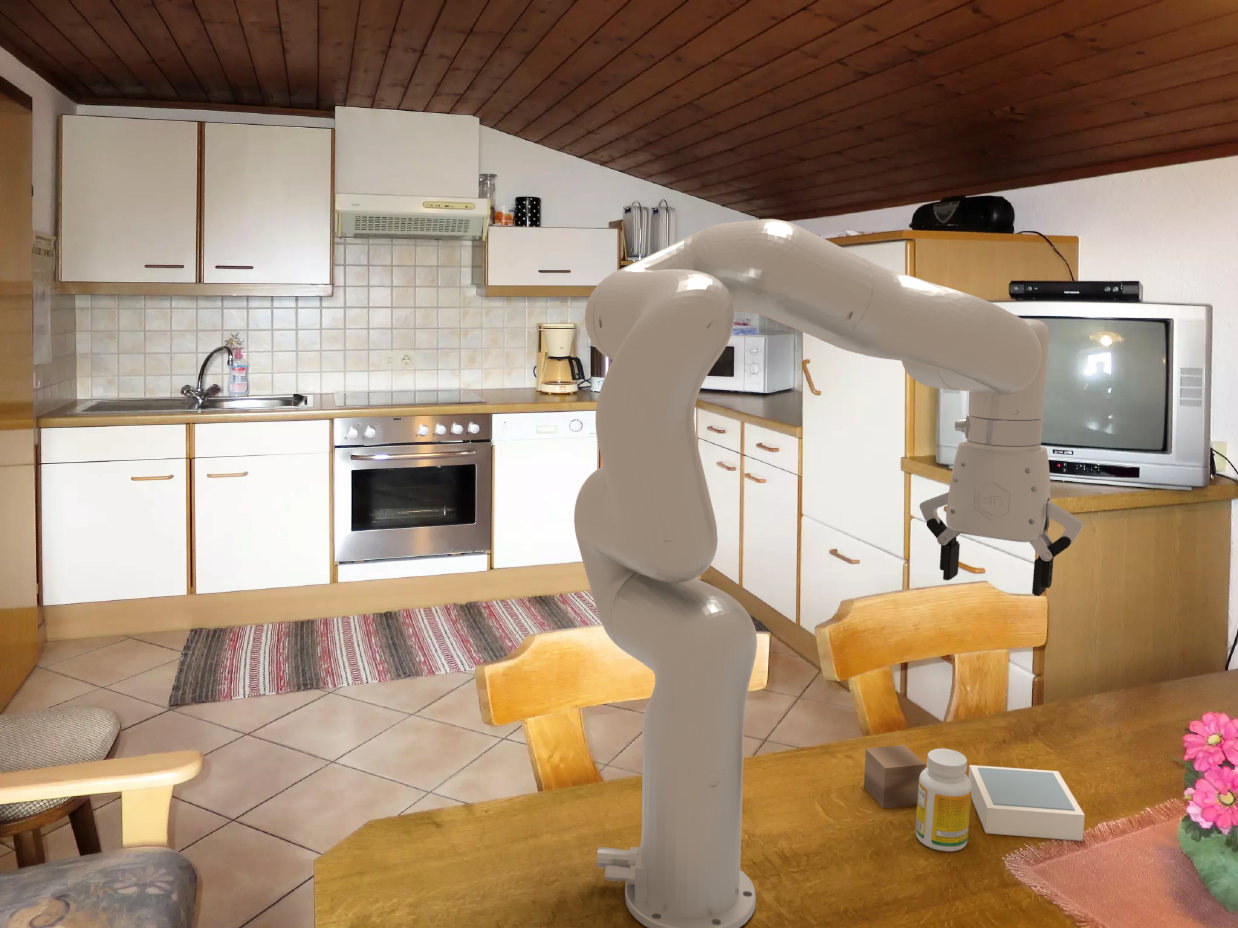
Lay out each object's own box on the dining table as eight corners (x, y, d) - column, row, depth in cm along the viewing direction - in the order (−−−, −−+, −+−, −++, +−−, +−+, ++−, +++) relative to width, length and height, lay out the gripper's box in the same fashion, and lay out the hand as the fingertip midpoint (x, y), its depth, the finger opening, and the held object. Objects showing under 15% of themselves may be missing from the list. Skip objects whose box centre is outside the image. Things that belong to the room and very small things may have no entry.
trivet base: (985, 832, 108) (987, 806, 108) (967, 788, 118) (969, 763, 117) (1082, 840, 107) (1084, 813, 106) (1056, 794, 117) (1058, 769, 116)
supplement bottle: (905, 837, 107) (910, 754, 106) (933, 820, 111) (938, 740, 109) (949, 858, 103) (955, 773, 102) (977, 841, 107) (983, 758, 105)
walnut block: (882, 808, 113) (885, 767, 113) (863, 787, 118) (865, 748, 117) (923, 804, 114) (925, 764, 114) (902, 783, 119) (904, 744, 118)
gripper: (913, 430, 110) (905, 579, 113) (1082, 444, 100) (1068, 608, 103) (936, 423, 116) (928, 565, 119) (1097, 436, 106) (1084, 590, 109)
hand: (993, 584), depth 111 cm, fingers open, 9 cm apart
